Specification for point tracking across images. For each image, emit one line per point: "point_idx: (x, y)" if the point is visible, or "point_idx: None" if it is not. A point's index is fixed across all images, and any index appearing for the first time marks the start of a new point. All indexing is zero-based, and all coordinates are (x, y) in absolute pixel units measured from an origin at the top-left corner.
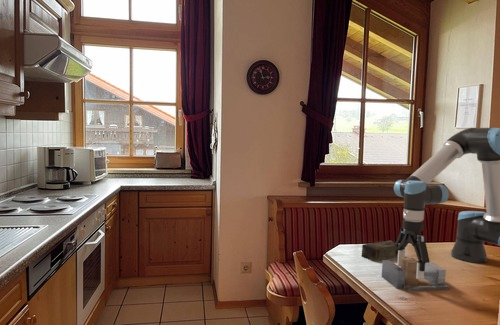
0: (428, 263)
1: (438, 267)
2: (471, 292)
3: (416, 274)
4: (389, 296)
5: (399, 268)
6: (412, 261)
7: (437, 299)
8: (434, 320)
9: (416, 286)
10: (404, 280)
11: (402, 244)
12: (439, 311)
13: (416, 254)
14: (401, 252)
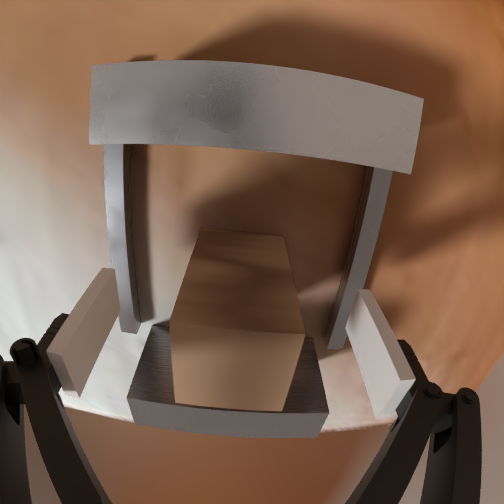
0: (214, 133)
1: (354, 116)
2: (443, 12)
3: (353, 345)
4: (351, 408)
5: (285, 422)
6: (268, 375)
7: (452, 264)
8: (500, 357)
9: (345, 301)
10: (318, 369)
11: (92, 469)
12: (494, 318)
13: (370, 468)
14: (77, 370)
